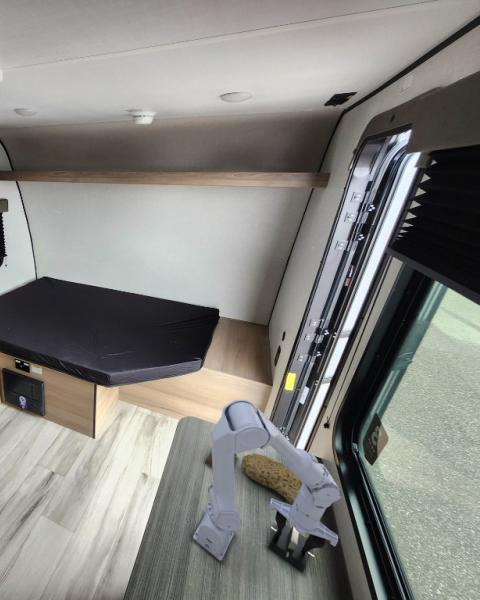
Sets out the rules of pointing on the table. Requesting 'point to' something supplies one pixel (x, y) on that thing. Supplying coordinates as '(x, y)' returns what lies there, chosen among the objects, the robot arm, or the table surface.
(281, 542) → the panel
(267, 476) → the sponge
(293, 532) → the tap handle
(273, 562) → the table surface
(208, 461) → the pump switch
